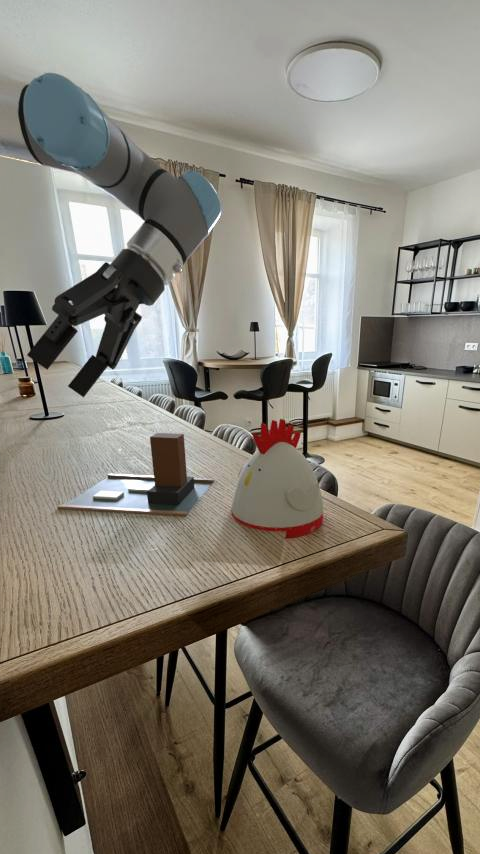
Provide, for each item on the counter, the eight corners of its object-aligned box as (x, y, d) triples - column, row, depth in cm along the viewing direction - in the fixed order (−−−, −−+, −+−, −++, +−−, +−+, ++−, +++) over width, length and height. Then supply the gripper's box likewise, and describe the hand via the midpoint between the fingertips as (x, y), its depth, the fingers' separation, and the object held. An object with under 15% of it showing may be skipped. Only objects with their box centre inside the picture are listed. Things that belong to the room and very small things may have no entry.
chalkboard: (58, 516, 62) (56, 506, 62) (110, 481, 77) (109, 473, 77) (186, 523, 60) (186, 513, 60) (214, 487, 75) (214, 478, 75)
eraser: (166, 486, 72) (161, 429, 68) (194, 487, 71) (190, 430, 68) (147, 503, 64) (140, 440, 61) (178, 505, 64) (173, 442, 60)
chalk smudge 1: (93, 498, 66) (92, 496, 66) (100, 492, 68) (100, 490, 68) (116, 499, 66) (116, 497, 66) (123, 494, 68) (123, 491, 68)
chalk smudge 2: (128, 491, 69) (127, 488, 69) (134, 486, 72) (134, 483, 72) (150, 492, 69) (150, 490, 69) (156, 487, 71) (156, 485, 71)
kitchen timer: (214, 514, 64) (209, 417, 58) (282, 495, 72) (283, 408, 66) (270, 548, 54) (271, 435, 48) (341, 521, 62) (349, 421, 57)
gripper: (151, 228, 50) (42, 365, 48) (176, 320, 75) (105, 413, 73) (98, 187, 49) (-14, 325, 47) (142, 295, 74) (69, 388, 72)
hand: (58, 379), depth 60 cm, fingers open, 13 cm apart
